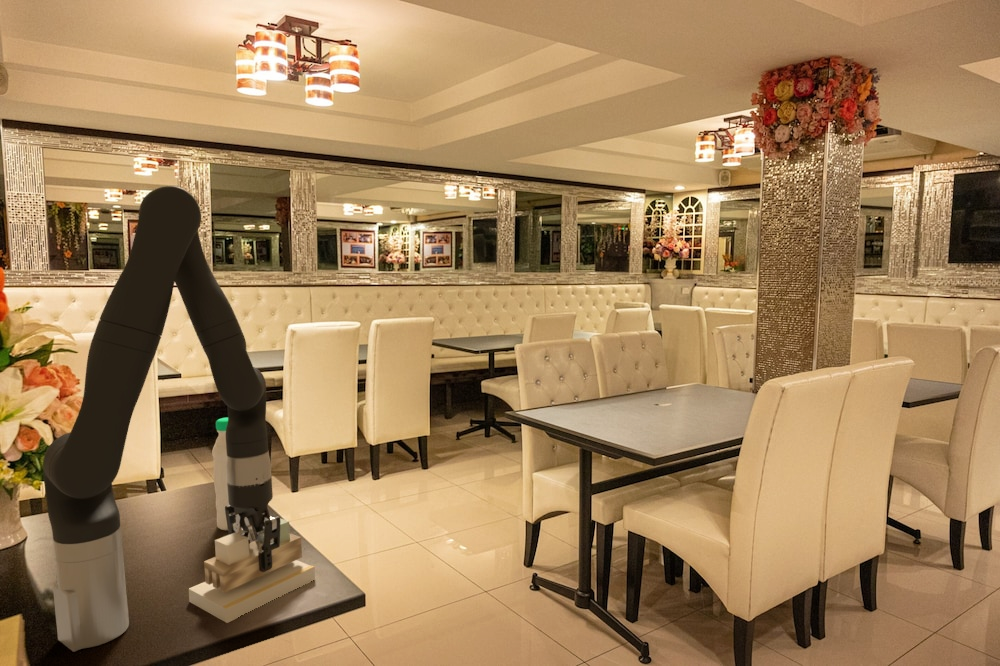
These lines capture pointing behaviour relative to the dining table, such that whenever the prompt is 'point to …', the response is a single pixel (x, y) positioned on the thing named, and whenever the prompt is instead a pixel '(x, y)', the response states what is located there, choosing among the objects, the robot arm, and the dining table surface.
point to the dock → (251, 591)
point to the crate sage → (281, 531)
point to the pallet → (250, 565)
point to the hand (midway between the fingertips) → (255, 565)
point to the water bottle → (221, 473)
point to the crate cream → (232, 548)
